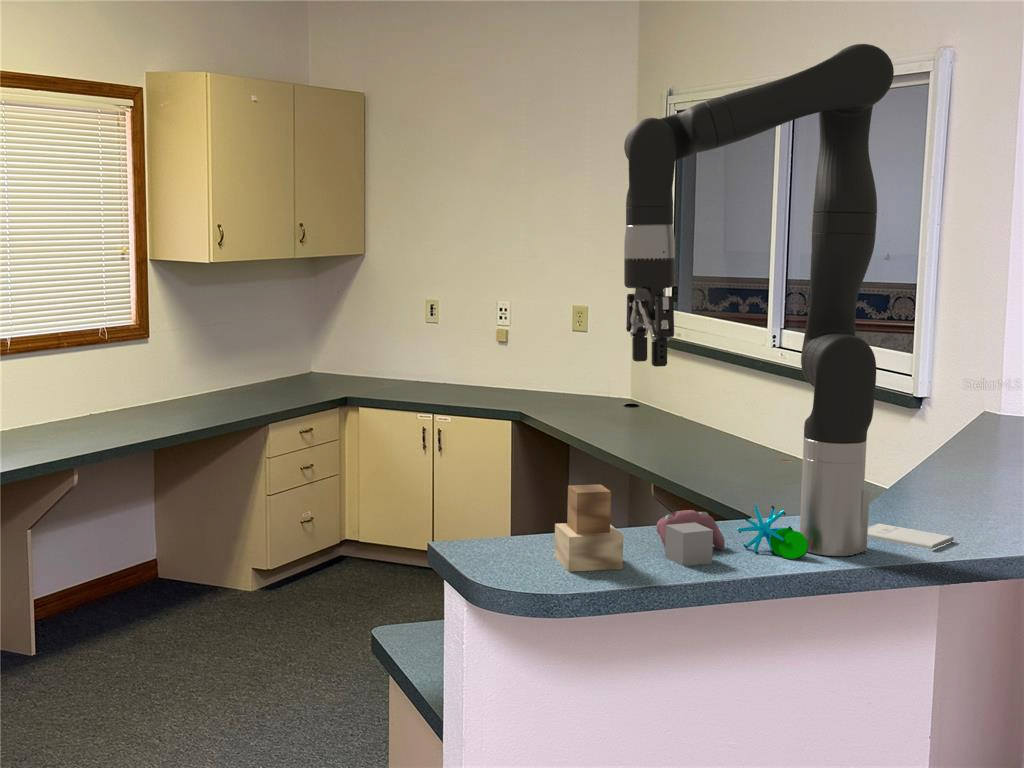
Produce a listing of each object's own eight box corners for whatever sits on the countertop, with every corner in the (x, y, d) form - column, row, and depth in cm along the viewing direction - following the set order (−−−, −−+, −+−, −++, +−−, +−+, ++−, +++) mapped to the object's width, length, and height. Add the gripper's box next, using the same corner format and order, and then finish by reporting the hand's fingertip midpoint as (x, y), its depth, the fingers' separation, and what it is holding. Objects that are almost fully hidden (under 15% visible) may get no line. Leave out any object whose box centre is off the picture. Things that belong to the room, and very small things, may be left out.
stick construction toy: (726, 533, 171) (754, 493, 172) (741, 551, 176) (769, 511, 177) (788, 571, 163) (818, 528, 164) (803, 588, 168) (832, 546, 169)
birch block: (606, 554, 166) (606, 521, 166) (622, 568, 159) (623, 534, 158) (554, 556, 165) (555, 523, 164) (568, 571, 157) (569, 537, 156)
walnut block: (599, 524, 164) (600, 484, 164) (610, 532, 159) (610, 491, 159) (567, 525, 163) (568, 485, 162) (576, 534, 158) (577, 492, 158)
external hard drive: (931, 555, 171) (856, 540, 179) (953, 545, 176) (879, 531, 185) (932, 545, 170) (856, 530, 179) (954, 535, 176) (880, 521, 185)
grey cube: (693, 554, 167) (695, 522, 167) (711, 563, 163) (713, 530, 162) (664, 557, 165) (665, 525, 165) (682, 566, 161) (683, 532, 160)
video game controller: (714, 554, 173) (705, 511, 175) (729, 548, 169) (719, 503, 171) (658, 560, 169) (649, 515, 172) (671, 554, 165) (662, 508, 168)
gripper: (691, 255, 160) (690, 367, 162) (656, 255, 174) (656, 358, 176) (641, 256, 159) (641, 369, 160) (610, 256, 172) (611, 360, 174)
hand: (649, 363), depth 168 cm, fingers open, 8 cm apart
